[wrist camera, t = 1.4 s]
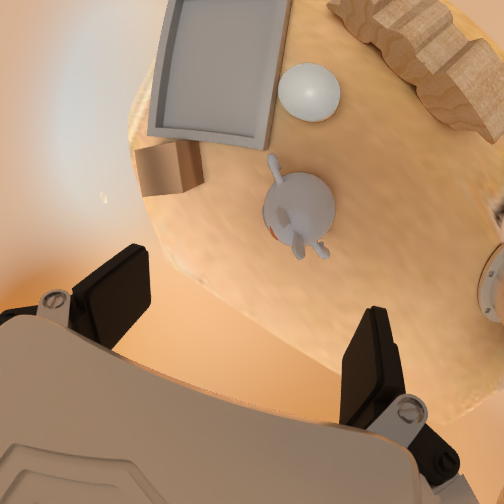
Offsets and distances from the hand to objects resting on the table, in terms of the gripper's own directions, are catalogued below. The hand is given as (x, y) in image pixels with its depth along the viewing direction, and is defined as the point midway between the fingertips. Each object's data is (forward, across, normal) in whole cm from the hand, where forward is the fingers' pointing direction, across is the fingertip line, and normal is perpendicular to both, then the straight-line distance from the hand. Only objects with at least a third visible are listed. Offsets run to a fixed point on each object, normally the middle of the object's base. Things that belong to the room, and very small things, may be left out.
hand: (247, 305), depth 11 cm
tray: (+20, +10, -13) cm, 26 cm away
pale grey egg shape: (+19, 0, -10) cm, 22 cm away
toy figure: (+20, -1, 0) cm, 20 cm away
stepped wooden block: (+19, -9, -17) cm, 27 cm away
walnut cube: (+20, +13, -1) cm, 24 cm away
